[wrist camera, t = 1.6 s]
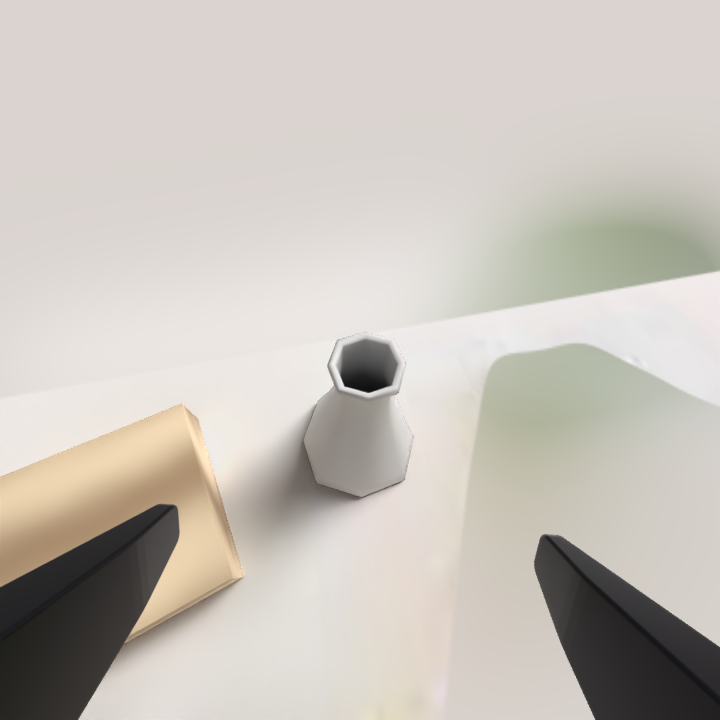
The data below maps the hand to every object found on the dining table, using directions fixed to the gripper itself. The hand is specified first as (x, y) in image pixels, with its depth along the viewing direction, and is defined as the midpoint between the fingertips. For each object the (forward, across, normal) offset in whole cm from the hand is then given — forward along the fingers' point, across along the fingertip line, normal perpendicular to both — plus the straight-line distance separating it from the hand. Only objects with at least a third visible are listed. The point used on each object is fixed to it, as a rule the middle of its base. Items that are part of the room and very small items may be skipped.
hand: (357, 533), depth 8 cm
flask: (+13, 0, +5) cm, 14 cm away
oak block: (+9, +12, +9) cm, 18 cm away
